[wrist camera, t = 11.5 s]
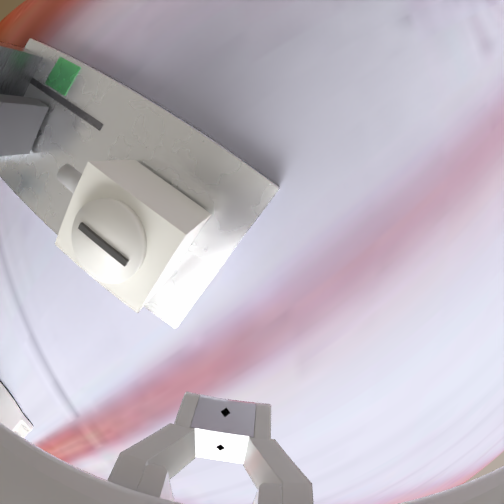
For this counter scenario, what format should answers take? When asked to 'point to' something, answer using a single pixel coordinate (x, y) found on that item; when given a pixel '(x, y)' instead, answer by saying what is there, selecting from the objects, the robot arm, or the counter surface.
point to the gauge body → (126, 227)
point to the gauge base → (125, 148)
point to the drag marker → (19, 123)
